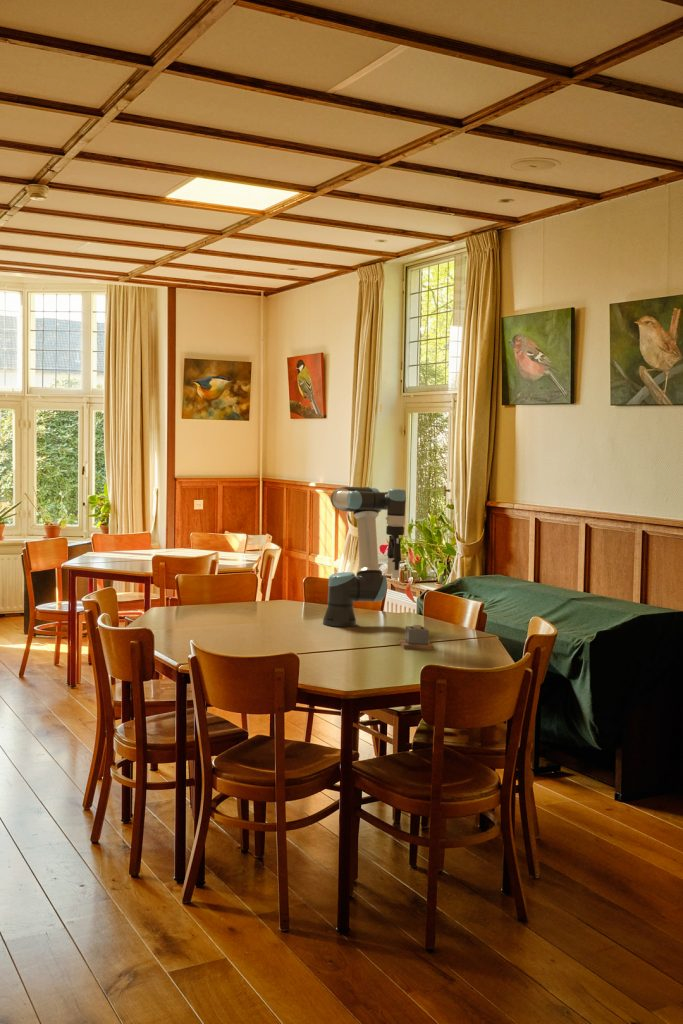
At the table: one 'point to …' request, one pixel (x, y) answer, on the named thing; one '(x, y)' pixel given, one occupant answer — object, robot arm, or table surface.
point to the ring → (416, 635)
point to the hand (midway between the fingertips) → (393, 575)
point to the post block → (414, 646)
